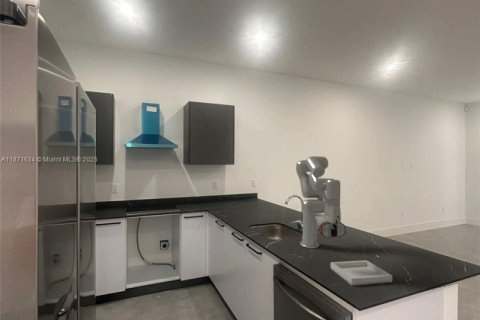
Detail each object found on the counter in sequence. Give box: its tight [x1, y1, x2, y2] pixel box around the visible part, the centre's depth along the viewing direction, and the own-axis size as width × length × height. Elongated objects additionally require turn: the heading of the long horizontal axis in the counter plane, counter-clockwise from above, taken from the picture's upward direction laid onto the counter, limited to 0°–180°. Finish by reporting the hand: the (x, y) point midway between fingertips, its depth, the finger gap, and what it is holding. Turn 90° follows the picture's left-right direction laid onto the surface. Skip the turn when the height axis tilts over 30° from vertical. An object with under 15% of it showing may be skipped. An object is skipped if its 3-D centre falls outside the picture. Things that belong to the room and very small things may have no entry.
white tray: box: [330, 259, 393, 286], centre depth 124 cm, size 18×22×3 cm
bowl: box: [314, 213, 325, 234], centre depth 205 cm, size 20×19×12 cm
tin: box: [318, 221, 347, 238], centre depth 134 cm, size 15×3×8 cm, turn 99°
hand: (332, 234), depth 134 cm, fingers closed on tin, 2 cm apart
